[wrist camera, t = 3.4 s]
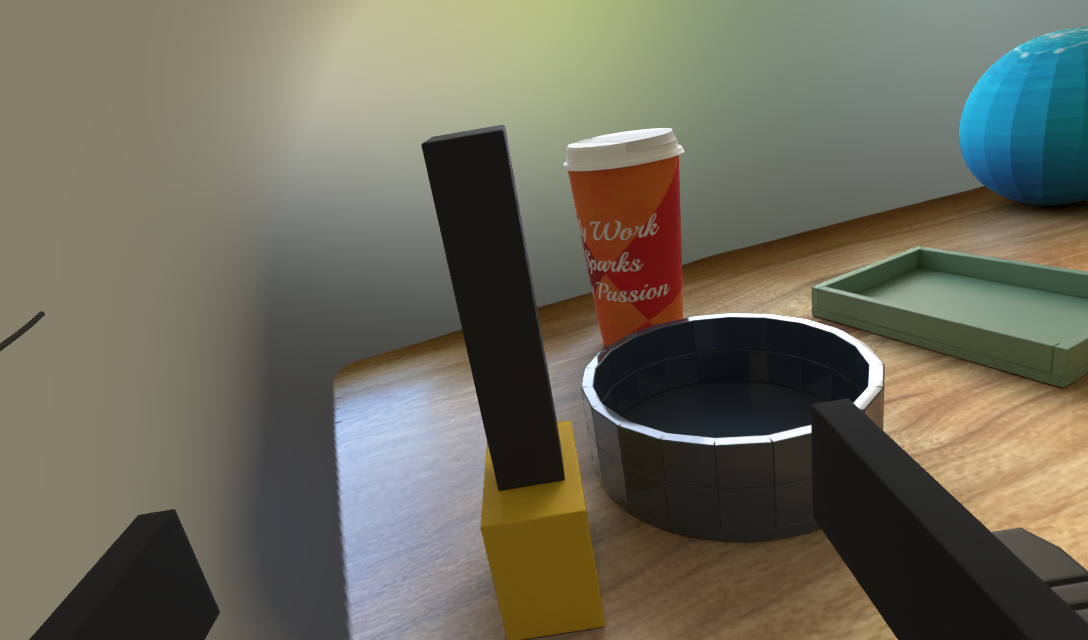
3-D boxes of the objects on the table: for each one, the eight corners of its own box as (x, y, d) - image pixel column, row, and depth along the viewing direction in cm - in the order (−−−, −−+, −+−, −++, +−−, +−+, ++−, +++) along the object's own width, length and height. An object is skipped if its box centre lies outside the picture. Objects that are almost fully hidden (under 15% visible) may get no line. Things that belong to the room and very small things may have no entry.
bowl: (548, 443, 34) (534, 368, 33) (735, 364, 39) (731, 296, 38) (717, 593, 23) (709, 489, 21) (949, 455, 28) (956, 363, 27)
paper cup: (567, 352, 45) (534, 151, 40) (628, 314, 50) (606, 131, 45) (662, 372, 40) (638, 144, 35) (720, 327, 45) (706, 122, 40)
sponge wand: (507, 642, 23) (390, 152, 17) (509, 531, 28) (421, 135, 22) (606, 626, 22) (523, 130, 17) (587, 518, 28) (521, 118, 22)
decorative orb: (1194, 191, 56) (1231, 3, 51) (1106, 233, 50) (1138, 25, 45) (1007, 181, 69) (1022, 30, 63) (919, 214, 63) (927, 50, 57)
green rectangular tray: (811, 315, 44) (811, 286, 44) (916, 272, 49) (917, 245, 48) (1062, 388, 31) (1068, 349, 31) (1176, 321, 36) (1183, 285, 35)
